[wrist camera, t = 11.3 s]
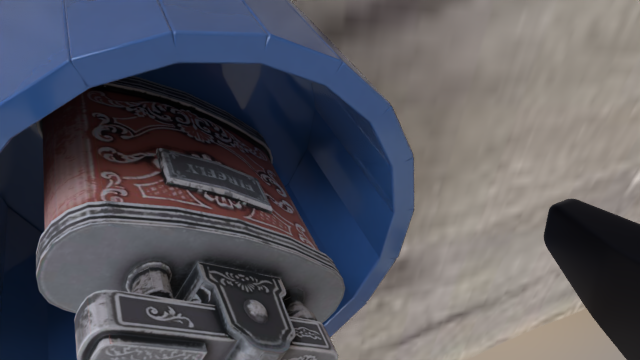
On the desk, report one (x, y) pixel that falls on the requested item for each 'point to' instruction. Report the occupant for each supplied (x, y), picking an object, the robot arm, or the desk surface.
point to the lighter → (176, 233)
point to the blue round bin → (221, 91)
